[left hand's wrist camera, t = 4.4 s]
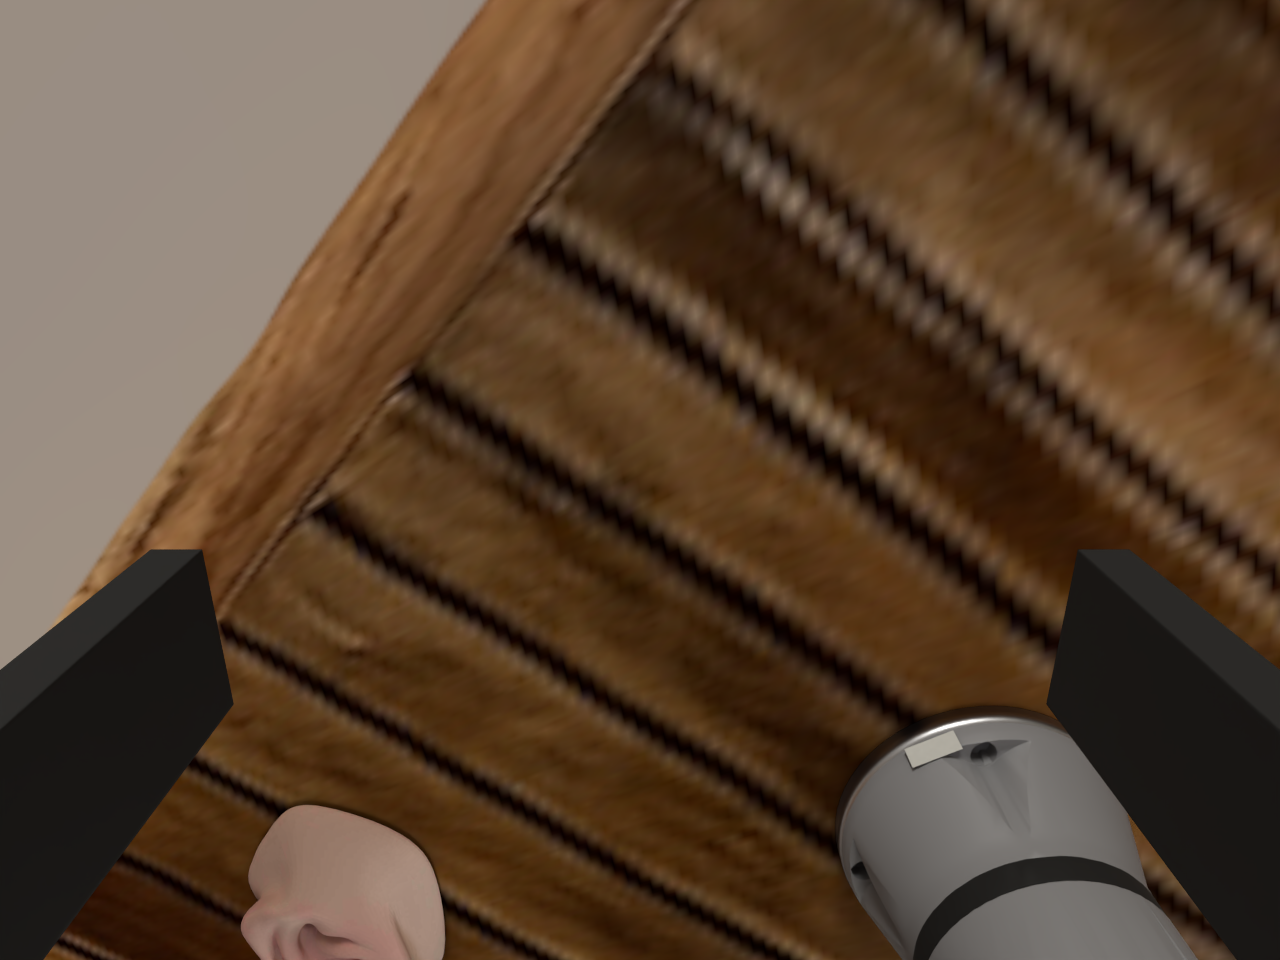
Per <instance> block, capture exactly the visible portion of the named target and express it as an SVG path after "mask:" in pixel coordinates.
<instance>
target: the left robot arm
mask: <svg viewBox="0 0 1280 960" xmlns="http://www.w3.org/2000/svg"><path fill="white" fill-rule="evenodd" d="M232 706H233V699H232V694H231V689H230V684H229V679H228V674H227V669H226V664H225V660H224V655H223V650H222V645H221V640H220V635H219V630H218V625H217V621H216V616H215V611H214V606H213V601H212V596H211V591H210V586H209V581H208V577H207V572H206V567H205V562H204V557H203V552H202V550H150V551H148V552H147V553H146V554H145V555H143V556H142V557H141V558H140V559H138V560H137V561H136V562H135V563H133V564H132V565H131V566H130V567H128V568H127V569H126V570H125V571H123V572H122V573H121V574H120V575H118V576H117V577H116V578H115V579H113V580H112V581H111V582H110V583H108V584H107V585H106V586H105V587H103V588H102V589H101V590H100V591H98V592H97V593H96V594H95V595H93V596H92V597H91V598H90V599H88V600H87V601H86V602H85V603H83V604H82V605H81V606H80V607H78V608H77V609H76V610H75V611H73V612H72V613H71V614H70V615H68V616H67V617H66V618H65V619H63V620H62V621H61V622H60V623H58V624H57V625H56V626H55V627H53V628H52V629H51V630H50V631H48V632H47V633H46V634H45V635H43V636H42V637H41V638H40V639H38V640H37V641H36V642H35V643H33V644H32V645H31V646H30V647H28V648H27V649H26V650H25V651H23V652H22V653H21V654H20V655H18V656H17V657H16V658H15V659H13V660H12V661H11V662H10V663H8V664H7V665H6V666H5V667H3V668H2V669H1V670H0V960H43V959H44V958H45V957H46V955H47V954H48V953H49V951H50V950H51V949H52V947H53V946H54V945H55V943H56V942H57V940H58V939H59V938H60V936H61V935H62V934H63V932H64V931H65V930H66V928H67V927H68V926H69V924H70V923H71V922H72V920H73V919H74V918H75V916H76V915H77V914H78V912H79V911H80V910H81V908H82V907H83V906H84V904H85V903H86V902H87V900H88V899H89V898H90V896H91V895H92V893H93V892H94V891H95V889H96V888H97V887H98V885H99V884H100V883H101V881H102V880H103V879H104V877H105V876H106V875H107V873H108V872H109V871H110V869H111V868H112V867H113V865H114V864H115V863H116V861H117V860H118V859H119V857H120V856H121V855H122V853H123V852H124V851H125V849H126V848H127V847H128V845H129V844H130V842H131V841H132V840H133V838H134V837H135V836H136V834H137V833H138V832H139V830H140V829H141V828H142V826H143V825H144V824H145V822H146V821H147V820H148V818H149V817H150V816H151V814H152V813H153V812H154V810H155V809H156V808H157V806H158V805H159V804H160V802H161V801H162V800H163V798H164V797H165V796H166V794H167V793H168V791H169V790H170V789H171V787H172V786H173V785H174V783H175V782H176V781H177V779H178V778H179V777H180V775H181V774H182V773H183V771H184V770H185V769H186V767H187V766H188V765H189V763H190V762H191V761H192V759H193V758H194V757H195V755H196V754H197V753H198V751H199V750H200V749H201V747H202V746H203V744H204V743H205V742H206V740H207V739H208V738H209V736H210V735H211V734H212V732H213V731H214V730H215V728H216V727H217V726H218V724H219V723H220V722H221V720H222V719H223V718H224V716H225V715H226V714H227V712H228V711H229V710H230V708H231V707H232ZM1047 706H1048V707H1049V708H1050V710H1051V711H1052V712H1053V714H1054V715H1055V716H1056V718H1057V719H1058V720H1059V721H1057V720H1055V719H1053V718H1051V717H1049V716H1046V715H1043V714H1040V713H1037V712H1034V711H1030V710H1026V709H1021V708H1015V707H1007V706H976V707H967V708H961V709H956V710H951V711H947V712H943V713H940V714H936V715H933V716H931V717H928V718H925V719H923V720H920V721H918V722H916V723H914V724H911V725H910V726H908V727H906V728H904V729H902V730H900V731H899V732H897V733H896V734H894V735H893V736H891V737H890V738H888V739H887V740H885V741H884V742H883V743H882V744H880V745H879V746H878V747H877V748H875V749H874V750H873V751H872V752H871V753H870V754H869V755H868V756H867V757H866V758H865V759H864V760H863V762H862V763H861V764H860V765H859V766H858V768H857V769H856V770H855V772H854V773H853V775H852V776H851V778H850V779H849V781H848V783H847V785H846V786H845V789H844V791H843V793H842V795H841V798H840V801H839V805H838V808H837V813H836V821H835V836H836V843H837V848H838V852H839V855H840V859H841V862H842V866H843V869H844V872H845V875H846V878H847V880H848V882H849V884H850V886H851V888H852V890H853V892H854V894H855V896H856V897H857V899H858V901H859V902H860V904H861V905H862V907H863V908H864V909H865V911H866V912H867V913H868V915H869V916H870V917H871V919H872V920H873V921H874V923H875V924H876V925H877V927H878V928H879V929H880V931H881V932H882V933H883V934H884V936H885V937H886V938H887V940H888V941H889V942H890V944H891V945H892V946H893V948H894V949H895V950H896V952H897V953H898V954H899V956H900V957H901V958H902V960H1198V959H1197V958H1196V956H1195V955H1194V953H1193V952H1192V951H1191V949H1190V948H1189V946H1188V945H1187V943H1186V942H1185V941H1184V939H1183V938H1182V936H1181V935H1180V934H1179V932H1178V931H1177V929H1176V928H1175V926H1174V925H1173V924H1172V922H1171V921H1170V919H1169V918H1168V917H1167V916H1166V914H1165V913H1164V911H1163V910H1162V909H1161V907H1160V906H1159V904H1158V903H1157V901H1156V900H1155V898H1154V897H1153V895H1152V894H1151V892H1150V891H1149V889H1148V888H1147V884H1146V880H1145V877H1144V873H1143V869H1142V866H1141V862H1140V858H1139V855H1138V851H1137V847H1136V844H1135V840H1134V836H1133V833H1132V829H1131V825H1130V822H1129V818H1128V815H1127V813H1128V814H1129V816H1130V817H1131V818H1132V820H1133V821H1134V822H1135V824H1136V825H1137V826H1138V828H1139V829H1140V830H1141V832H1142V833H1143V834H1144V836H1145V837H1146V838H1147V840H1148V841H1149V842H1150V844H1151V845H1152V847H1153V848H1154V849H1155V851H1156V852H1157V853H1158V855H1159V856H1160V857H1161V859H1162V860H1163V861H1164V863H1165V864H1166V865H1167V867H1168V868H1169V869H1170V871H1171V872H1172V873H1173V875H1174V876H1175V877H1176V879H1177V880H1178V881H1179V883H1180V884H1181V885H1182V887H1183V888H1184V889H1185V891H1186V892H1187V893H1188V895H1189V896H1190V898H1191V899H1192V900H1193V902H1194V903H1195V904H1196V906H1197V907H1198V908H1199V910H1200V911H1201V912H1202V914H1203V915H1204V916H1205V918H1206V919H1207V920H1208V922H1209V923H1210V924H1211V926H1212V927H1213V928H1214V930H1215V931H1216V932H1217V934H1218V935H1219V936H1220V938H1221V939H1222V940H1223V942H1224V943H1225V945H1226V946H1227V947H1228V949H1229V950H1230V951H1231V953H1232V954H1233V955H1234V957H1235V958H1236V959H1237V960H1280V670H1279V669H1278V668H1277V667H1275V666H1274V665H1273V664H1272V663H1270V662H1269V661H1268V660H1267V659H1265V658H1264V657H1263V656H1262V655H1260V654H1259V653H1258V652H1257V651H1255V650H1254V649H1253V648H1252V647H1250V646H1249V645H1248V644H1247V643H1245V642H1244V641H1243V640H1242V639H1240V638H1239V637H1238V636H1237V635H1235V634H1234V633H1233V632H1232V631H1230V630H1229V629H1228V628H1227V627H1225V626H1224V625H1223V624H1222V623H1220V622H1219V621H1218V620H1217V619H1215V618H1214V617H1213V616H1212V615H1210V614H1209V613H1208V612H1207V611H1205V610H1204V609H1203V608H1202V607H1200V606H1199V605H1198V604H1197V603H1195V602H1194V601H1193V600H1192V599H1190V598H1189V597H1188V596H1187V595H1185V594H1184V593H1183V592H1182V591H1180V590H1179V589H1178V588H1177V587H1175V586H1174V585H1173V584H1172V583H1170V582H1169V581H1168V580H1167V579H1165V578H1164V577H1163V576H1162V575H1160V574H1159V573H1158V572H1157V571H1155V570H1154V569H1153V568H1152V567H1150V566H1149V565H1148V564H1147V563H1145V562H1144V561H1143V560H1142V559H1140V558H1139V557H1138V556H1137V555H1135V554H1134V553H1133V552H1132V551H1130V550H1078V552H1077V557H1076V562H1075V567H1074V572H1073V577H1072V581H1071V586H1070V591H1069V596H1068V601H1067V606H1066V611H1065V616H1064V621H1063V625H1062V630H1061V635H1060V640H1059V645H1058V650H1057V655H1056V660H1055V664H1054V669H1053V674H1052V679H1051V684H1050V689H1049V694H1048V699H1047Z"/></svg>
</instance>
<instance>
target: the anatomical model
mask: <svg viewBox="0 0 1280 960" xmlns="http://www.w3.org/2000/svg"><path fill="white" fill-rule="evenodd" d="M248 877H249V884H250V887H251V889H252V891H253V893H254V895H255V896H256V898H257V899H258V902H256V903H255V904H254V905H253V906H252V907H251V908H250V909H249V910H248V911H247V913H246V914H245V916H244V918H243V920H242V923H241V931H242V934H243V936H244V937H245V939H246V941H247V942H248V943H249V945H250V946H251V947H252V949H253V950H254V951H255V952H256V954H257V955H258V956H259V957H260V959H261V960H442V958H443V954H444V947H445V924H444V914H443V907H442V902H441V896H440V892H439V887H438V883H437V880H436V877H435V874H434V871H433V869H432V866H431V864H430V862H429V861H428V859H427V857H426V856H425V854H424V853H423V852H422V851H421V850H420V849H419V847H418V846H416V845H415V844H414V843H413V842H412V841H410V840H409V839H408V838H406V837H404V836H403V835H401V834H400V833H398V832H396V831H394V830H392V829H390V828H388V827H386V826H384V825H381V824H379V823H377V822H374V821H372V820H369V819H366V818H363V817H360V816H357V815H354V814H351V813H347V812H344V811H340V810H337V809H332V808H327V807H322V806H317V805H301V806H296V807H293V808H290V809H288V810H287V811H285V812H284V813H283V814H282V815H281V816H280V817H279V818H278V819H277V820H276V821H275V823H274V824H273V825H272V827H271V828H270V830H269V831H268V833H267V834H266V836H265V837H264V839H263V840H262V842H261V843H260V845H259V847H258V849H257V851H256V853H255V856H254V858H253V861H252V863H251V866H250V869H249V875H248Z"/></svg>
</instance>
